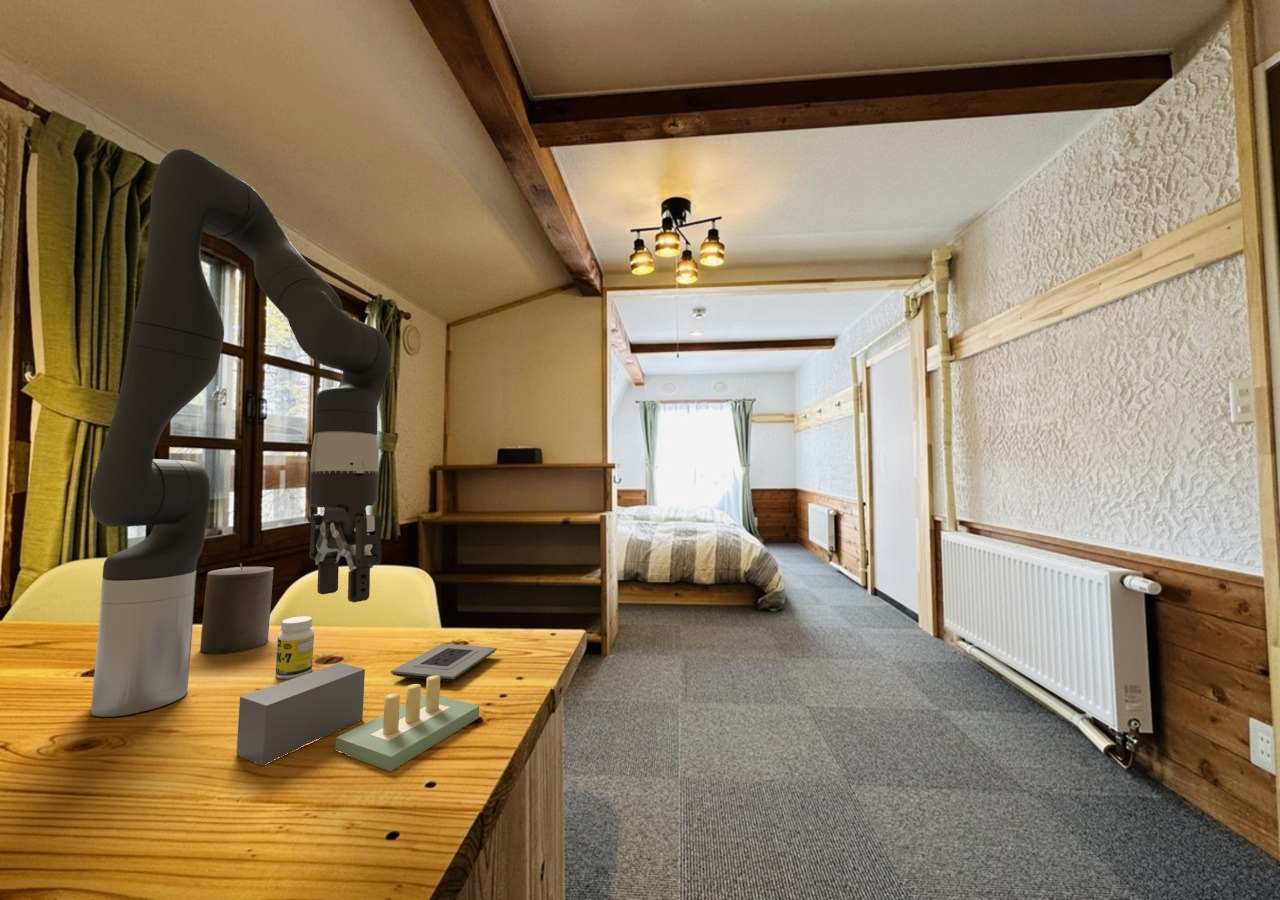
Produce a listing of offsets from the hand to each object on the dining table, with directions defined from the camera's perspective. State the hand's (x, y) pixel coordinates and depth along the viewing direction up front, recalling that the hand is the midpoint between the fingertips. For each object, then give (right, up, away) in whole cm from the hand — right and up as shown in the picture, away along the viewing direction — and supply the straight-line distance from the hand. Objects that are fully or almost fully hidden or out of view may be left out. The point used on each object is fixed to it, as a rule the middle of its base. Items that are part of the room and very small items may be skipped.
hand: (342, 597), depth 61 cm
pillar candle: (-37, -18, +28) cm, 49 cm away
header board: (+10, -16, -3) cm, 19 cm away
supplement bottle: (-17, -17, +15) cm, 28 cm away
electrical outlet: (+6, -18, +18) cm, 26 cm away
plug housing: (-2, -16, -4) cm, 16 cm away
